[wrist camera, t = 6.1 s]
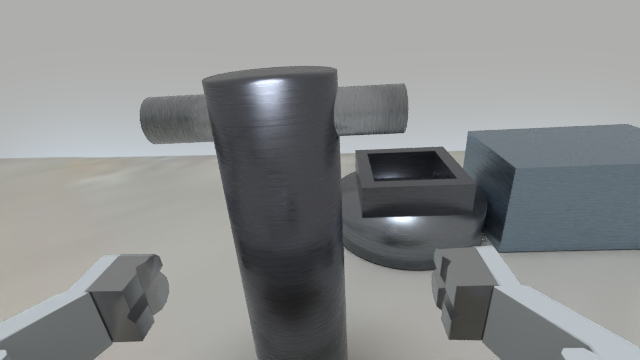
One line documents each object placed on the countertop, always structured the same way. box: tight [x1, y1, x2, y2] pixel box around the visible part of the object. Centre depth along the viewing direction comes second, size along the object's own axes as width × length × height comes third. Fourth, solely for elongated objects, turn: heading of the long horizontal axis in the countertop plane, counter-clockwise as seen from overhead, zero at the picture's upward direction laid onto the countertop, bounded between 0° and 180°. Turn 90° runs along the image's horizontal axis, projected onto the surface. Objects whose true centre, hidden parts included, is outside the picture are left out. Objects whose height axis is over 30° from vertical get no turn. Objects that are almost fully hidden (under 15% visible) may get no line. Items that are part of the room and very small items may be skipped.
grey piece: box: [341, 124, 640, 270], centre depth 22 cm, size 21×10×6 cm, turn 88°
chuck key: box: [140, 66, 408, 360], centre depth 10 cm, size 6×3×12 cm, turn 88°
